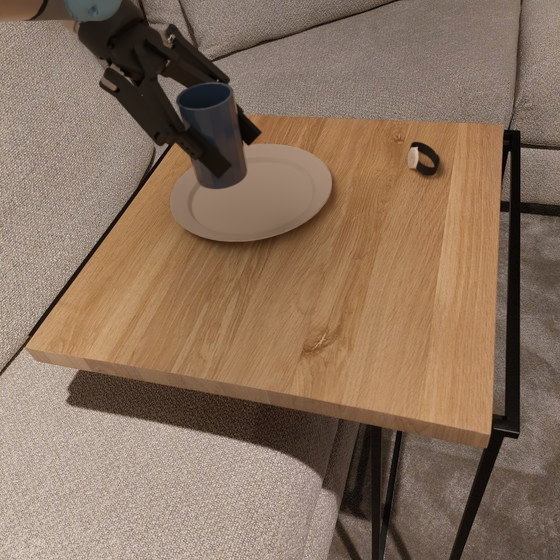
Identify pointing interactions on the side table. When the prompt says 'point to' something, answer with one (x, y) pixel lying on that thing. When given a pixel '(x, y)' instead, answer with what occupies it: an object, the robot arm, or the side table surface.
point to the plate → (255, 196)
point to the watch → (415, 163)
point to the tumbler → (215, 130)
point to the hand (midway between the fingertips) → (240, 155)
